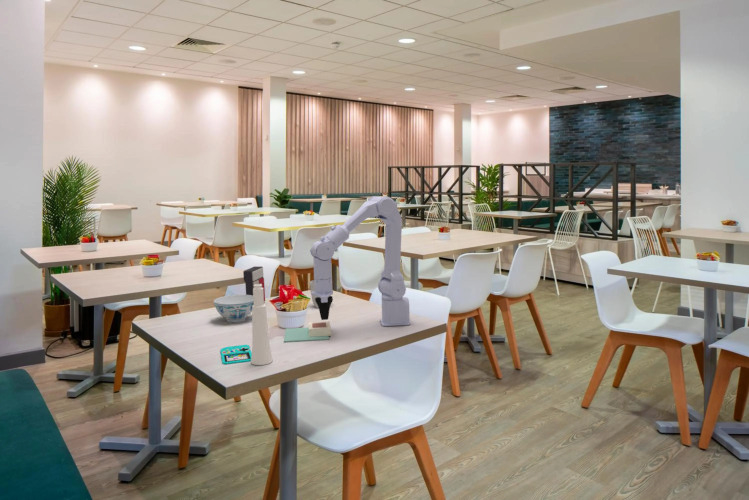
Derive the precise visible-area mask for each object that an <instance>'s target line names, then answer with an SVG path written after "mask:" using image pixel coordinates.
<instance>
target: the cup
mask: <svg viewBox="0 0 749 500" xmlns="http://www.w3.org/2000/svg"><path fill="white" fill-rule="evenodd" d="M309 289H310V293H311V292H314V291H315V286H314V279H313V280H310V281H309ZM310 295H311V294H310ZM310 297H311V301H312V303H313V306H314V308H316V309H319V308H318V305H317V303H316V301H315V298H316V297H318V296H316V295H311V296H310Z"/></svg>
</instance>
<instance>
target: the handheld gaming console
mask: <svg viewBox="0 0 749 500" xmlns="http://www.w3.org/2000/svg"><path fill="white" fill-rule="evenodd" d="M246 355H247V357H248V358H241V357H246ZM220 356H221V362H222V364H223V365H225V366H226V365H233V364H242V363H249V362H250V363H251V357H252V350H251V348H250V345H249V344H241V345H240V344H239V345H232V346H231V345H230V346H226V347H222V348H221V349H220ZM226 356H228V357H226ZM239 357H240V359H239ZM230 358H231V359H233V360H228V359H230Z"/></svg>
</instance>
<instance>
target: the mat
mask: <svg viewBox="0 0 749 500" xmlns="http://www.w3.org/2000/svg"><path fill="white" fill-rule="evenodd" d="M328 340H330V337H329V336H315V337H309V326H308V327H296V328H295V327H294V328H293V327H292V328H291V327H290V328H285V332H284V337H283V343H293V342H295V343H299V342H310V341H311V342H312V341H328Z"/></svg>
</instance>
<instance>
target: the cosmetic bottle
mask: <svg viewBox="0 0 749 500" xmlns="http://www.w3.org/2000/svg"><path fill="white" fill-rule="evenodd" d="M253 300H254V305H253V306H252V312H251V313H252V314H251V318H252V319H251V320H252V321H251V322H252V323H251V325H252V328H251V330H252V332H251V333H252V337H251V338H252V339H251V342H252V343H251V345H252V346H251V349H252V350H251V353H252V357H251V361H250V363H251V364H252V365H254V366H265V365H268V364H269V365H270V364H271V363H273V361H274V359H273V354H272V350H271V344H270V335H269V334H270V333H269V324H268V323H269V322H268V315H267V306H266V304H265V302H264V295H263V288H262V284H255V285H254V288H253Z"/></svg>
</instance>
